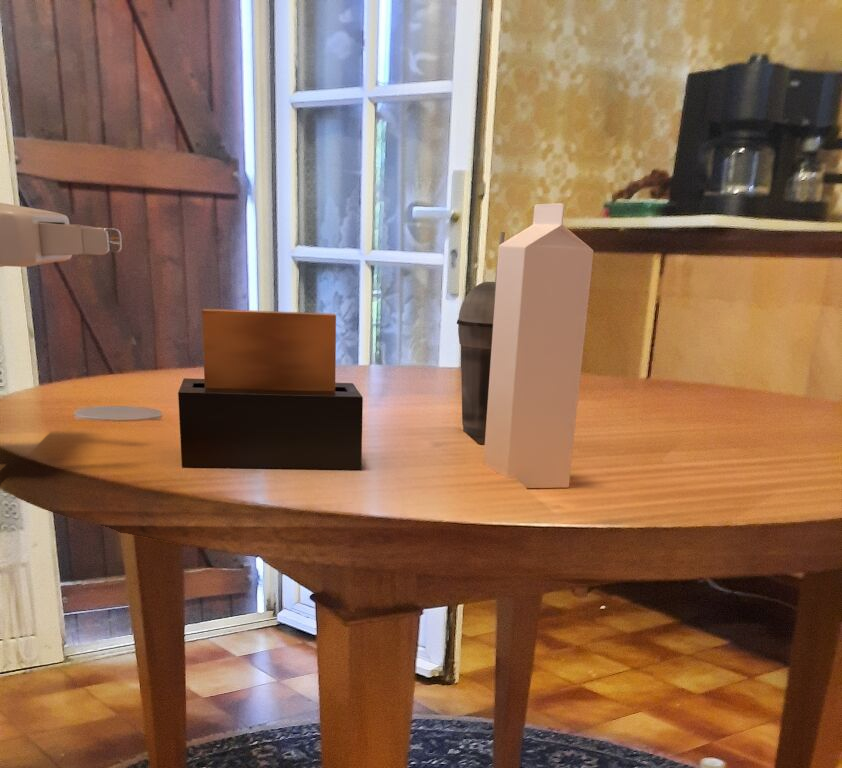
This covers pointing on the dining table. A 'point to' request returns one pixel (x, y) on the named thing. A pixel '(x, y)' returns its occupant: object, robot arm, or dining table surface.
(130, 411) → the plate
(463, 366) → the beverage cup
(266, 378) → the toast
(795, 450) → the dining table surface
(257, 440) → the toaster
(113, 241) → the robot arm
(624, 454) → the dining table surface
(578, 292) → the milk
